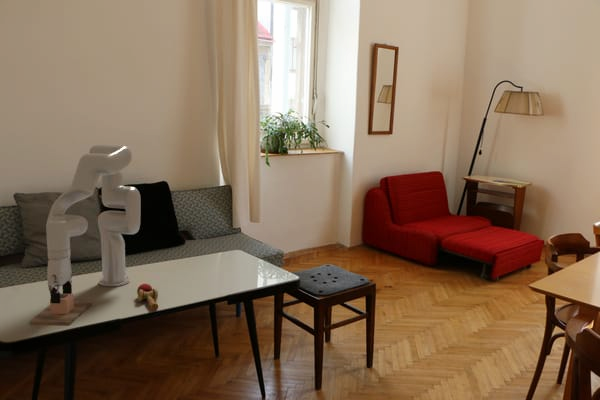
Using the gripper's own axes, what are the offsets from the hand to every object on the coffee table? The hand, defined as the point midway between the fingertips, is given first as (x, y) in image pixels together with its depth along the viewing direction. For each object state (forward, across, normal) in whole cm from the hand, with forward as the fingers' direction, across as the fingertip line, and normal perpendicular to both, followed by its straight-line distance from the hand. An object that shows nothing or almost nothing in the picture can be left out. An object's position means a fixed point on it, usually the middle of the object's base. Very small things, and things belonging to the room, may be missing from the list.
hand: (61, 298), depth 194 cm
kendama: (+6, -13, +28) cm, 32 cm away
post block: (+6, 0, 0) cm, 6 cm away
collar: (+5, 0, 0) cm, 5 cm away
